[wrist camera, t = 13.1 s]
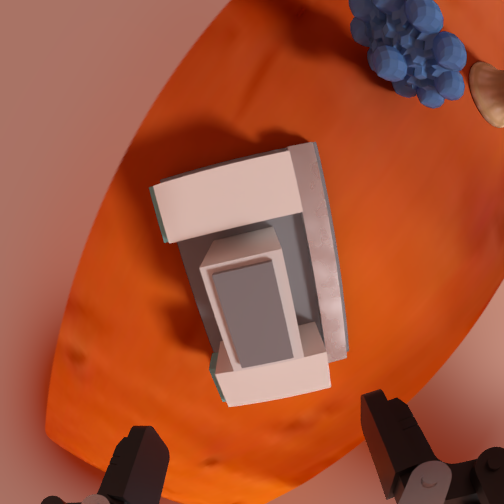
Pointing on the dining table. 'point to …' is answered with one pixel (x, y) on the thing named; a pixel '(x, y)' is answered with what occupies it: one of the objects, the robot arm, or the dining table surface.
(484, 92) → the hand bell
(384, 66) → the grapes
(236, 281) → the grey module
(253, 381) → the rail board
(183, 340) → the dining table surface
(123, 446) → the robot arm
